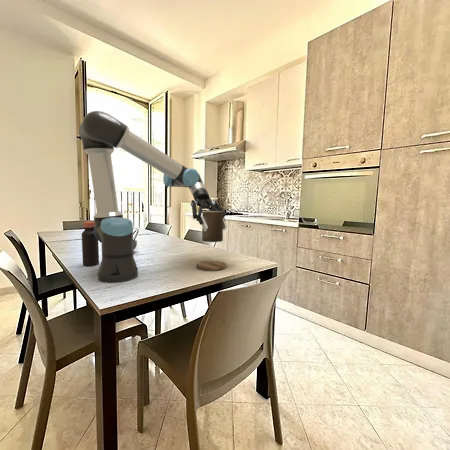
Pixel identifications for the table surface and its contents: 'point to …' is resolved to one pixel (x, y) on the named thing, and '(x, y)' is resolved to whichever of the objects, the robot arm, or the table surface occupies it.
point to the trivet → (211, 265)
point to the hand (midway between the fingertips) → (216, 228)
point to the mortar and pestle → (134, 244)
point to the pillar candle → (213, 226)
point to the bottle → (90, 245)
